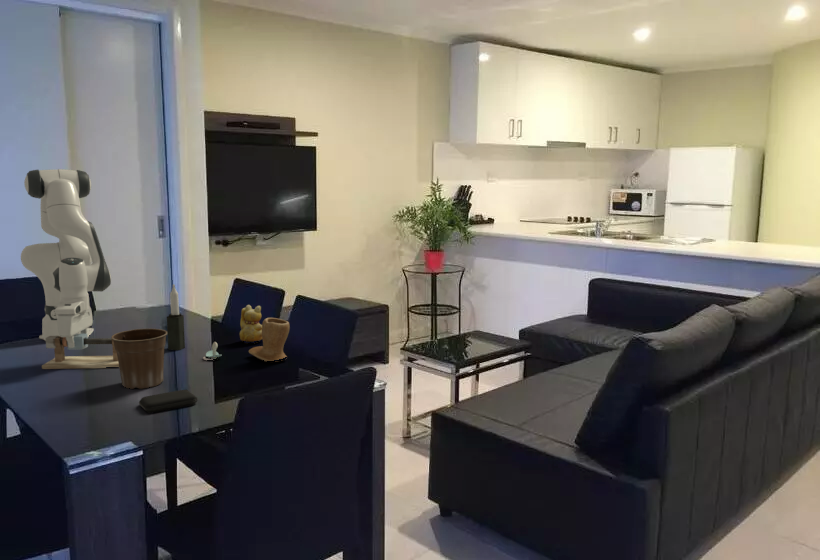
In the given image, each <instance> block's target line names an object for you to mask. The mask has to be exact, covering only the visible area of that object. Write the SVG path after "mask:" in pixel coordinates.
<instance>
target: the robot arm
mask: <svg viewBox="0 0 820 560" xmlns="http://www.w3.org/2000/svg"><path fill="white" fill-rule="evenodd" d="M24 188H25V190H26V192H27V195H29V196H30V197H31V198H35V199H40V226H41V229H42V231H43V232H44V233H45V234H48V235H50V236H53V237H55V238H57V239H58V240H59V241H58V242H46V243H43V242H42V243H34V244H30V245H26V246H25V247H24V248H22V251H21V253H20V262H21V264H22V266H23V267H24V269H26V270H27V271H30V272H31V273H32V274H34V275H35V276H36V277H37V278H38V279H39V281H40V282H41V284H42V287H43V291H44V296H45V297H44V299H45V304H44V314H45V316H44V317H42V323H41V325H42V328H41V330H42V334H40V335H39V337H38V339H39V340H43V341H44V342H46V338H47V337H49V336H60V337H66V340H67V342H68V347H69V348H74V347H75V346H76V345H75V342H74V339H73V338H74V335H75V334H87V336H88V338H89V337H90V336H89V335H92V333H93V332H94V327H92V326H93V321H94V320H93V319H94V318H93V312H92V308H91V306H90V297H89V295H90V294H89V293H88V292H105V291H106V290H107V289H108V288H109V287H110V286H111V285H112V275H111V272H110V270H109V268H108V265H107V262H106V259H105V257H104V253H103V250H102V247H101V243H100V240H99V237H98V235H97V232H96V228H95V226H94V225H93V223H92V221H91V222H90V221H89V220H87V219H86V217H85V216H84V214H83V212H82V207H81V205H82V204H81V199H83V198H87V197H88V196H89V195H90V192H91V189H92V180H91V178H90V176H89V174H88V173H87V172H86V171H83V170H80V169H77V170H75V169H74V170H72V169H64V168H57V169H40V170H39V169H33V170H29V171H28V172H27V173H26V176H25V177H24ZM68 347H67V348H68Z"/></svg>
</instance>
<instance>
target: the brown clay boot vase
mask: <svg viewBox="0 0 820 560" xmlns="http://www.w3.org/2000/svg"><path fill="white" fill-rule="evenodd" d="M261 325H262V345H261V346H260V345H259V346H253V347H252V348H250V349H249V350H248V353H249V354H250V355H252V356H253V357H255V358H257V359H259V360H261V361H263V360H264V362H267V361H274V360H279V359H283V358H285V357H287V358H288V356H287V355H286V353H285V352H284V347H285V346H284V345H285V343H286V341H287V338H288V336H289V333H290V329H291V327H290V322H289V321H288V320H285V319H281V318H276V317H267V318H264V320H263V321H262V323H261Z"/></svg>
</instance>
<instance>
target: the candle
mask: <svg viewBox="0 0 820 560" xmlns="http://www.w3.org/2000/svg"><path fill="white" fill-rule="evenodd" d="M175 286H176V284H174V283H173V284H172V288H171V291H170V292H169V300H170V302H169V303H170V314H168V315H167V316H166V329H167V330H166V331H167V335H166V336H167V350H169V351H181V350H183V349H186V338H185V335H186V334H185V319H184V317H185V315H184V314H182V313H180V305H179V303H180V302H179V301H180V300H179V292H178V291H177V289H176V287H175Z"/></svg>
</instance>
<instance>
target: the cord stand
mask: <svg viewBox="0 0 820 560" xmlns="http://www.w3.org/2000/svg"><path fill="white" fill-rule="evenodd" d="M83 340H84V344H88V345H111V346H112V355H78V356H77V355H76V356H74V355H71V356H69V355H68V356H66V353H65V347H67V348H68V344H67V340H66V337H60V336H49V337H47V338H46V341H45V347H46V349H53V350H54V358H52V359H51V360H49V361H47V362H45V363H43V364H42V365H41V369H42V370H59V369H60V370H64V369H67V370H68V369H69V370H71V369H107V368H106V367H119V363H118V357H117V352H116V350H115V346H114V342H113V340H112V339H111V338H110V337H108V338H100V337H99V338H88V339H83Z"/></svg>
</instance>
